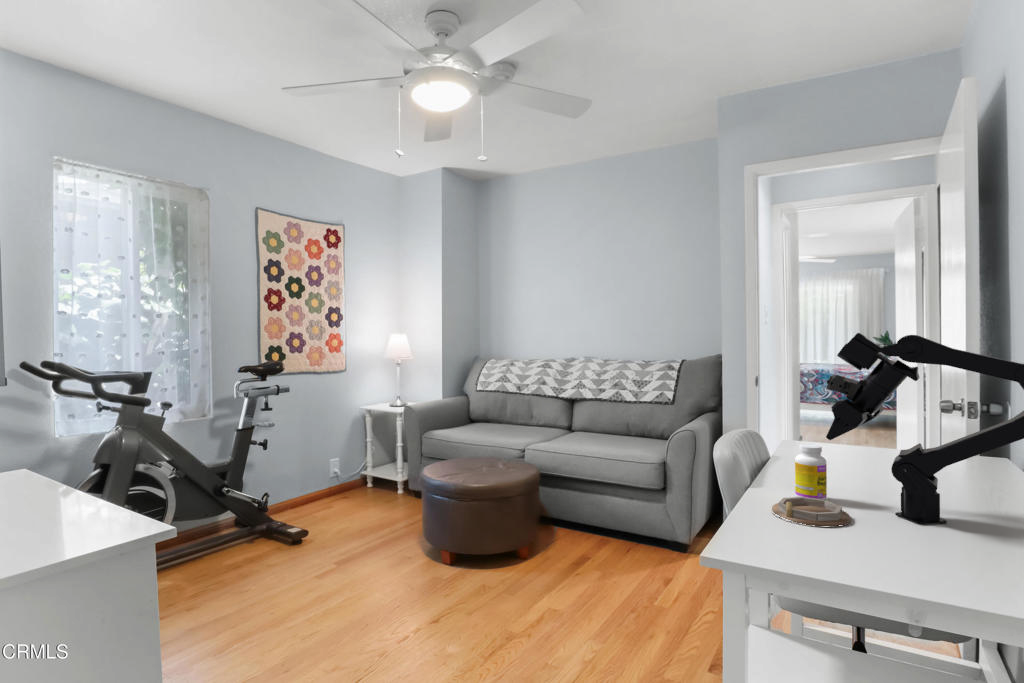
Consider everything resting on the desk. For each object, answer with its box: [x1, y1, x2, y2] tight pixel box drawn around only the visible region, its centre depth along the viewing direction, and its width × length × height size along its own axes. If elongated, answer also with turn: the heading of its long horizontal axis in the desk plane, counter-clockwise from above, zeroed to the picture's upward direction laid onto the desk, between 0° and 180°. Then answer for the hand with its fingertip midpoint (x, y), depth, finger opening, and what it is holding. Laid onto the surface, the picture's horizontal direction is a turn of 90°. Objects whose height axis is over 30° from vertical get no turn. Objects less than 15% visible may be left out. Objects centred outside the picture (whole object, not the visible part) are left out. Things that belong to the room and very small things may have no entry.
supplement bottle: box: [794, 443, 828, 501], centre depth 132 cm, size 7×7×13 cm
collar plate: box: [771, 496, 851, 526], centre depth 120 cm, size 15×15×4 cm
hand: (834, 435), depth 128 cm, fingers open, 9 cm apart
